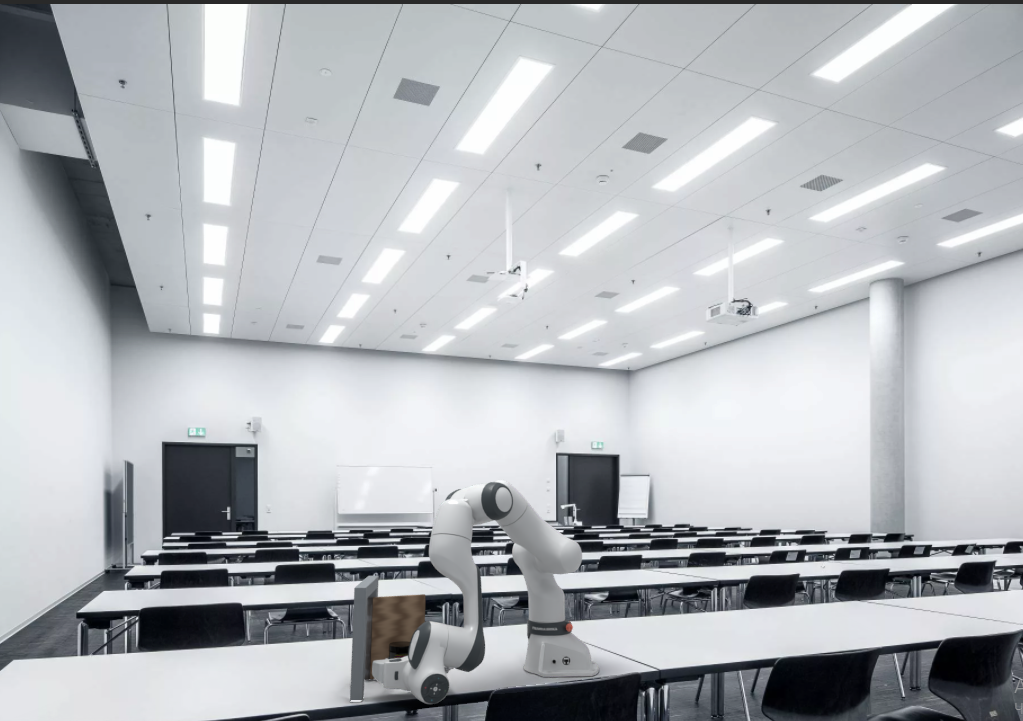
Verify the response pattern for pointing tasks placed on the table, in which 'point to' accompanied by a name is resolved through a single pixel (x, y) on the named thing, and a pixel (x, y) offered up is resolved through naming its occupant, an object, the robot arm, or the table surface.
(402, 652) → the supplement container
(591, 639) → the table surface
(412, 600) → the door
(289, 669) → the table surface
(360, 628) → the door frame
